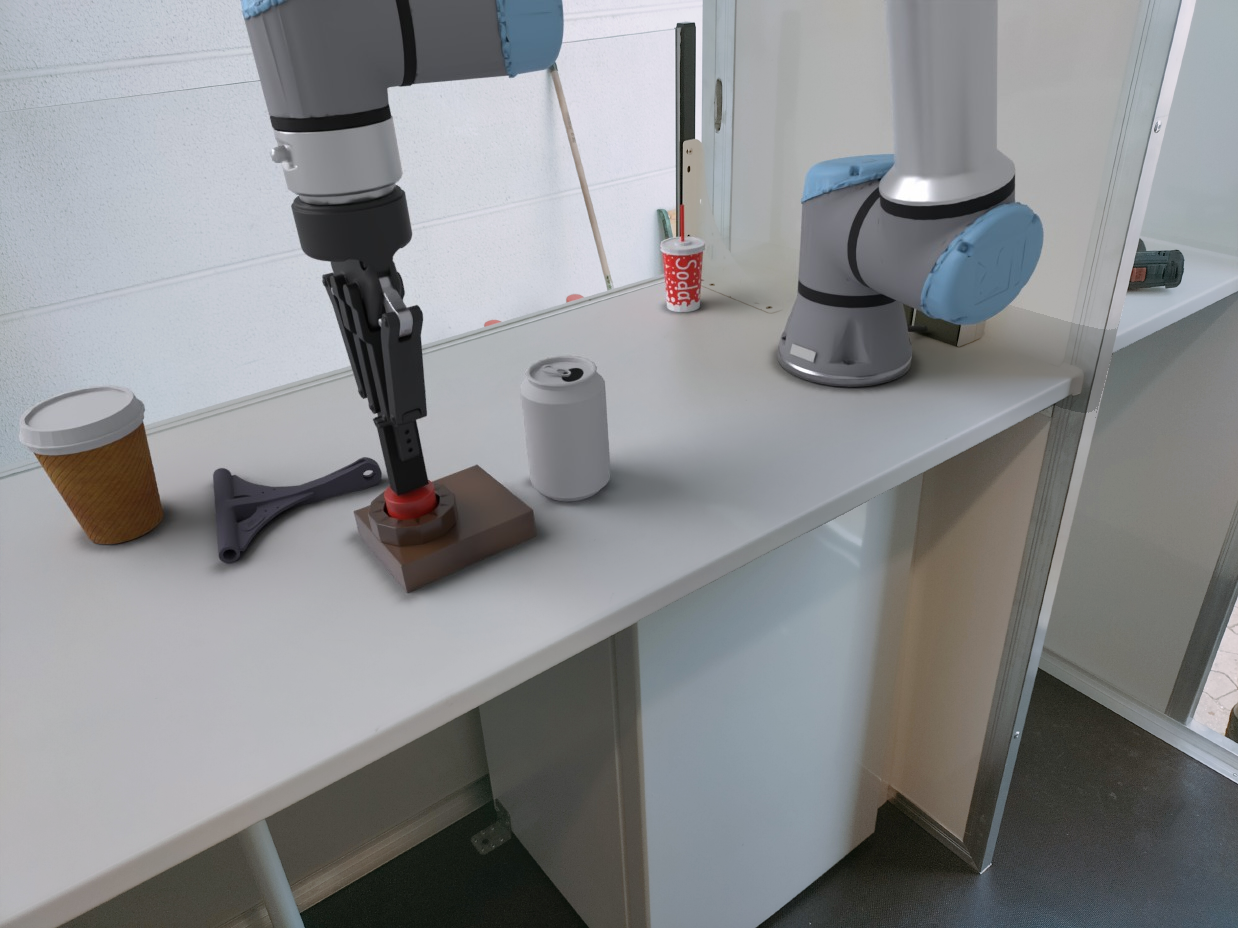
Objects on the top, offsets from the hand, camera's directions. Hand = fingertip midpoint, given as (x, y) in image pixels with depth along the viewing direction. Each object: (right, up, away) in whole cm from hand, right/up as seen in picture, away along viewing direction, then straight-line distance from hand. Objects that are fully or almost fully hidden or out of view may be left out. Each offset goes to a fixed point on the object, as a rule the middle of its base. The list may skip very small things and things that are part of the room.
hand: (409, 485), depth 69 cm
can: (+13, 0, +11) cm, 17 cm away
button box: (+2, -5, +4) cm, 7 cm away
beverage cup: (+26, +24, +50) cm, 61 cm away
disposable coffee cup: (-28, -4, +8) cm, 29 cm away
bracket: (-12, -2, +10) cm, 16 cm away
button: (0, -2, +1) cm, 2 cm away
